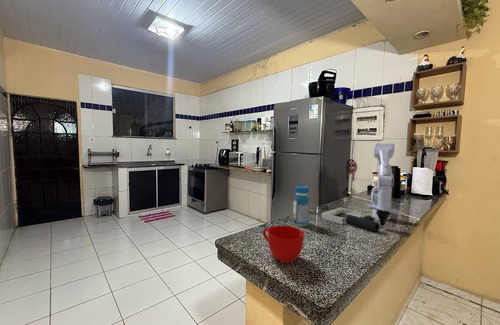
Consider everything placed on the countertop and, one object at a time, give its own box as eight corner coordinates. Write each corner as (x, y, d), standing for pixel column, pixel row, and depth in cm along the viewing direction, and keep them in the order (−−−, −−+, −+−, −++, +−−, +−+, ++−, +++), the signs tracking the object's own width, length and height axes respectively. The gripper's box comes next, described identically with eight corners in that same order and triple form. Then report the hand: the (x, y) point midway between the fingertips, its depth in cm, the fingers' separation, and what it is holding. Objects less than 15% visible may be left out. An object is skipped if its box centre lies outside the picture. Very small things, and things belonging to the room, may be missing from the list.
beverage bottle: (302, 227, 113) (303, 188, 112) (289, 223, 120) (290, 186, 118) (312, 224, 119) (313, 187, 117) (299, 220, 125) (300, 184, 124)
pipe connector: (357, 211, 127) (386, 218, 114) (357, 220, 127) (385, 229, 115) (346, 215, 120) (374, 223, 108) (345, 224, 121) (373, 234, 108)
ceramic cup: (273, 244, 94) (273, 220, 93) (309, 258, 82) (310, 232, 81) (252, 254, 84) (252, 228, 84) (289, 272, 73) (290, 242, 72)
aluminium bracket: (340, 211, 143) (340, 207, 142) (360, 217, 133) (360, 212, 132) (321, 218, 129) (321, 213, 129) (342, 224, 120) (342, 218, 119)
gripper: (366, 197, 116) (364, 222, 117) (398, 203, 105) (396, 231, 106) (371, 195, 120) (370, 220, 121) (403, 201, 109) (401, 228, 110)
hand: (382, 225), depth 114 cm, fingers closed
